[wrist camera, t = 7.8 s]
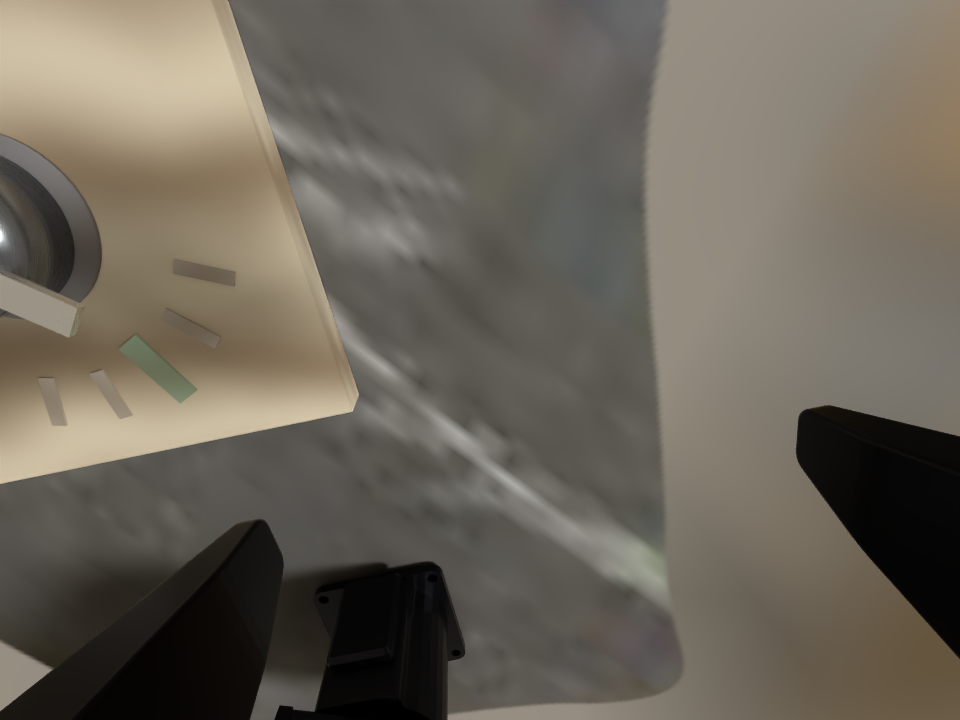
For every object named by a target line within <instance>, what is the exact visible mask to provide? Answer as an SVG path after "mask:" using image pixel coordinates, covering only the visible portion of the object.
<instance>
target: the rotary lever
mask: <svg viewBox="0 0 960 720" xmlns="http://www.w3.org/2000/svg"><path fill="white" fill-rule="evenodd" d="M74 262H75V247H74V240H73V236H72V232H71V229H70V226H69V223H68V221H67V219H66V217H65V215H64V213H63V211H62V209H61V208H60V206H59V205H58V203H57V202H56V200H55V199H54V198H53V196H52V195H51V194H50V193H49V191H48V190H47V189H46V188H45V187H44V186H43V185H42V184H41V183H40V182H39V181H38V180H37V179H36V178H35V177H33V176H32V175H31V174H30V173H29V172H28V171H26V170H25V169H23V168H22V167H20V166H19V165H17V164H16V163H14V162H12V161H10V160H9V159H7V158H5V157H3V156H1V155H0V318H1V317H4V316H6V315H9V314H15V315H17V316H19V317H22V318H24V319H26V320H29V321H31V322H33V323H36V324H38V325H40V326H43V327H45V328H47V329H50V330H52V331H55V332H57V333H59V334H62V335H64V336H66V337H71V336H73V335H76V333H77V330H78V327H79V323H80V320H81V317H82V313H83V310H84V307H85V305H83V304H81V303H78V302H76V301H74V300H72V299H69V298H67V297H65V296H63V295H60V294H58V293H59V292H60V291H61V290H62V289H63V288H64V287H65V286H66V284H67V282H68V280H69V279H70V276H71V274H72V271H73V267H74Z"/></svg>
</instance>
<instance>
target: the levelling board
mask: <svg viewBox="0 0 960 720" xmlns="http://www.w3.org/2000/svg"><path fill="white" fill-rule="evenodd" d="M0 155H1V156H3V157H5V158H7V159H9V160H10V161H12V162H14V163H16V164H17V165H19V166H20V167H22V168H23V169H25V170H26V171H28V172H29V173H30V174H31V175H32V176H33V177H35V178H36V179H37V180H38V181H39V182H40V183H41V184H42V185H43V186H44V187H45V188H46V189H47V190H48V191H49V193H50V194H51V195H52V196H53V198H54V199H55V200H56V202H57V203H58V205H59V206H60V208H61V209H62V211H63V213H64V215H65V217H66V219H67V221H68V223H69V226H70V229H71V232H72V236H73V240H74V247H75V262H74V267H73V271H72V274H71V276H70V279H69V280H68V282H67V284H66V286H65V287H64V288H63V289H62V290H61V291H60V292H59V293H58V294H60V295H63V296H65V297H67V298H69V299H72V300H74V301H76V302H78V303H81V304H83V305H85V307H84V310H83V313H82V317H81V320H80V323H79V327H78V330H77V333H76V335H73V336H71V337H66V336H64V335H62V334H59V333H57V332H55V331H52V330H50V329H47V328H45V327H43V326H40V325H38V324H36V323H33V322H31V321H29V320H26V319H24V318H22V317H19V316H17V315H15V314H9V315H6V316H4V317H1V318H0V484H1V483H6V482H11V481H16V480H21V479H26V478H31V477H36V476H40V475H45V474H50V473H55V472H60V471H65V470H70V469H75V468H80V467H84V466H89V465H94V464H99V463H104V462H109V461H114V460H119V459H123V458H128V457H133V456H138V455H143V454H148V453H153V452H158V451H163V450H167V449H172V448H177V447H182V446H187V445H192V444H197V443H202V442H207V441H211V440H216V439H221V438H226V437H231V436H236V435H241V434H246V433H250V432H255V431H260V430H265V429H270V428H275V427H280V426H285V425H290V424H294V423H299V422H304V421H309V420H314V419H319V418H324V417H329V416H334V415H338V414H343V413H348V412H353V409H354V406H355V404H356V401H357V399H358V396H359V393H358V390H357V387H356V384H355V381H354V378H353V375H352V372H351V369H350V366H349V363H348V360H347V357H346V354H345V351H344V348H343V345H342V342H341V339H340V336H339V333H338V330H337V327H336V324H335V321H334V318H333V315H332V312H331V309H330V306H329V303H328V300H327V297H326V294H325V291H324V288H323V285H322V282H321V279H320V276H319V273H318V270H317V267H316V264H315V261H314V258H313V255H312V252H311V249H310V246H309V243H308V240H307V237H306V234H305V231H304V228H303V225H302V222H301V219H300V216H299V213H298V210H297V207H296V204H295V201H294V198H293V195H292V192H291V189H290V186H289V183H288V180H287V177H286V174H285V171H284V168H283V165H282V162H281V159H280V156H279V153H278V150H277V147H276V144H275V141H274V138H273V135H272V132H271V129H270V126H269V122H268V119H267V116H266V113H265V110H264V107H263V104H262V101H261V98H260V95H259V92H258V89H257V86H256V83H255V80H254V77H253V74H252V71H251V68H250V65H249V62H248V59H247V56H246V53H245V50H244V47H243V44H242V41H241V38H240V35H239V32H238V29H237V26H236V23H235V20H234V17H233V14H232V11H231V8H230V5H229V2H228V0H0Z"/></svg>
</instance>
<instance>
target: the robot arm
mask: <svg viewBox="0 0 960 720" xmlns="http://www.w3.org/2000/svg"><path fill="white" fill-rule="evenodd" d="M796 455H797V459H798V462H799V464H800V466H801V468H802V469H803V471H804V472H805V473H806V475H807V476H808V478H809V479H810V480H811V481H812V483H813V484H814V486H815V487H816V488H817V490H818V491H819V492H820V494H821V495H822V497H823V498H824V499H825V501H826V502H827V503H828V505H829V506H830V507H831V509H832V510H833V511H834V513H835V514H836V515H837V517H838V518H839V520H840V521H841V522H842V524H843V525H844V527H845V528H846V529H847V531H848V532H849V533H850V535H851V536H852V537H853V538H854V540H855V541H856V542H857V544H858V545H859V546H860V547H861V549H862V550H863V551H864V552H865V553H866V554H867V556H868V557H869V558H870V559H871V560H872V561H873V563H874V564H875V565H876V566H877V567H878V568H879V569H880V570H881V571H882V573H883V574H884V575H885V576H886V577H887V578H888V579H889V580H890V581H891V583H892V584H893V585H894V586H895V587H896V588H897V589H898V590H899V591H900V593H901V594H902V595H903V596H904V597H905V598H906V600H907V601H908V602H909V603H910V604H911V605H912V606H913V607H914V608H915V610H916V611H917V612H918V613H919V614H920V615H921V616H922V617H923V619H924V620H925V621H926V622H927V623H928V624H929V625H930V626H931V627H932V629H933V630H934V631H935V632H936V633H937V634H938V635H939V636H940V638H941V639H942V640H943V641H944V642H945V643H946V644H947V645H948V646H949V648H950V649H951V650H952V651H953V652H954V653H955V654H956V656H957V657H958V658H959V659H960V436H956V435H952V434H948V433H944V432H939V431H935V430H931V429H927V428H923V427H919V426H914V425H910V424H906V423H902V422H898V421H894V420H889V419H885V418H881V417H877V416H873V415H869V414H864V413H860V412H856V411H852V410H848V409H843V408H840V407H835V406H830V405H826V406H820V407H815V408H811V409H806V410H804V411H802V412H801V413H800V415H799V419H798V431H797V444H796ZM283 568H284V562H283V556H282V553H281V551H280V549H279V547H278V545H277V542H276V540H275V538H274V536H273V534H272V532H271V530H270V528H269V526H268V524H267V522H266V521H264V520H263V519H255V520H250V521H244V522H240V523H237V524H236V525H234V526H233V527H232V528H230V529H229V530H228V531H227V532H225V533H224V534H223V535H222V536H220V537H219V538H218V539H216V540H215V541H214V542H213V543H211V544H210V545H209V546H208V547H206V548H205V549H204V550H203V551H201V552H200V553H199V554H198V555H196V556H195V557H194V558H193V559H191V560H190V561H189V562H188V563H186V564H185V565H184V566H183V567H181V568H180V569H179V570H178V571H176V572H175V573H174V574H172V575H171V576H170V577H169V578H167V579H166V580H165V581H164V582H162V583H161V584H160V585H159V586H157V587H156V588H155V589H154V590H152V591H151V592H150V593H149V594H147V595H146V596H145V597H144V598H142V599H141V600H140V601H139V602H137V603H136V604H135V605H133V606H132V607H131V608H130V609H128V610H127V611H126V612H125V613H123V614H122V615H121V616H120V617H118V618H117V619H116V620H115V621H113V622H112V623H111V624H110V625H108V626H107V627H106V628H105V629H103V630H102V631H101V632H100V633H98V634H97V635H96V636H95V637H93V638H92V639H91V640H89V641H88V642H87V643H86V644H84V645H83V646H82V647H81V648H79V649H78V650H77V651H76V652H74V653H73V654H72V655H71V656H69V657H68V658H67V659H66V660H64V661H63V662H62V663H61V664H59V665H58V666H57V667H56V668H54V669H53V670H52V671H50V672H49V673H48V674H47V675H46V676H44V677H43V678H42V679H40V680H39V681H38V682H37V683H35V684H34V685H33V686H32V687H30V688H29V689H28V690H27V691H25V692H24V693H23V694H22V695H20V696H19V697H18V698H17V699H15V700H14V701H13V702H12V703H10V704H9V705H8V706H6V707H5V708H4V709H3V710H1V711H0V720H250V717H251V714H252V710H253V707H254V703H255V700H256V696H257V693H258V689H259V686H260V682H261V679H262V675H263V671H264V668H265V664H266V660H267V655H268V650H269V646H270V640H271V635H272V629H273V624H274V618H275V613H276V607H277V602H278V596H279V591H280V585H281V580H282V574H283ZM430 575H435V576H430ZM324 596H326V597H324ZM314 603H315V605H316V607H317V609H318V611H319V614H320V616H321V618H322V620H323V622H324V624H325V627H326V629H327V631H328V633H329V635H330V637H331V640H332V641H331V645H330V649H329V653H328V657H327V663H326V667H325V671H324V675H323V679H322V683H321V687H320V691H319V695H318V700H317V704H316V708H315V712H311V711H302V710H293V707H291V706H282V705H280V706H279V709H278V711H277V714H276V717H275V720H447V702H448V661H451V660H456V659H460V658H462V657H463V656H464V655H465V643H464V640H463V637H462V633H461V630H460V627H459V624H458V620H457V617H456V614H455V610H454V607H453V604H452V601H451V597H450V594H449V591H448V588H447V584H446V581H445V578H444V574H443V571H442V569H441V568H440V567H439V566H437V565H427V566H422V567H417V568H412V569H407V570H401V571H396V572H391V573H386V574H381V575H376V576H371V577H366V578H361V579H356V580H351V581H346V582H341V583H335V584H330V585H325V586H321V587H319V588H318V589H317V590H316V593H315V596H314Z"/></svg>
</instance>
